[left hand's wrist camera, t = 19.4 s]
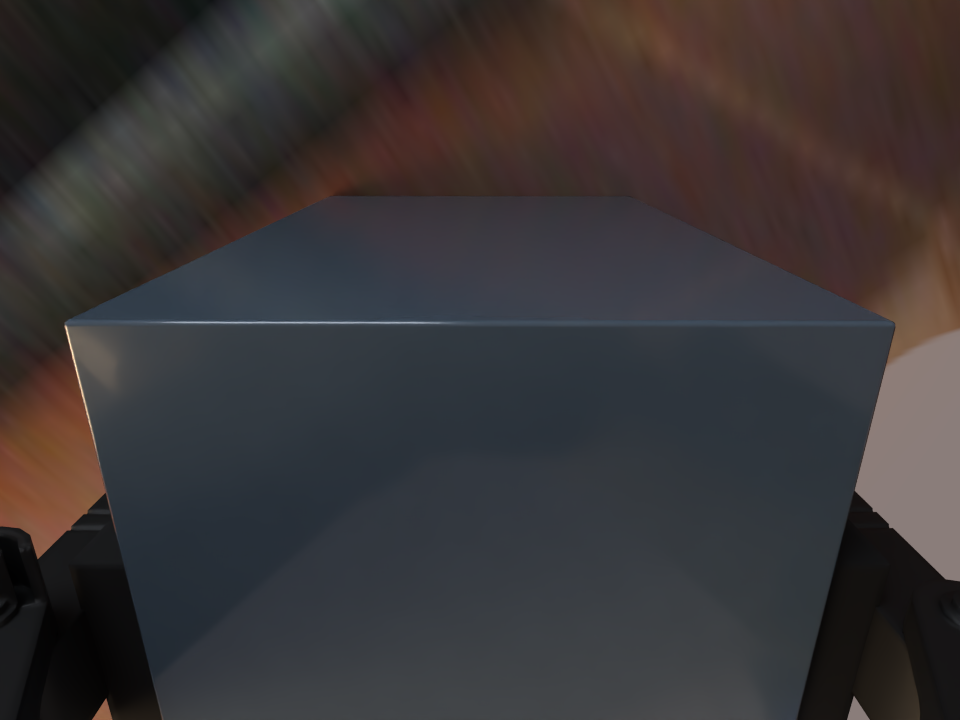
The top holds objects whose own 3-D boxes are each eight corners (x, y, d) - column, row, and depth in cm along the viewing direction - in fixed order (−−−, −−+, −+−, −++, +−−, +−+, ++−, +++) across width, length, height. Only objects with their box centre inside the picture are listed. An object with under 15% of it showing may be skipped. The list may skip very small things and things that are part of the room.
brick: (607, 477, 20) (756, 889, 9) (351, 477, 20) (202, 888, 9) (631, 196, 17) (898, 321, 6) (328, 195, 17) (59, 320, 6)
